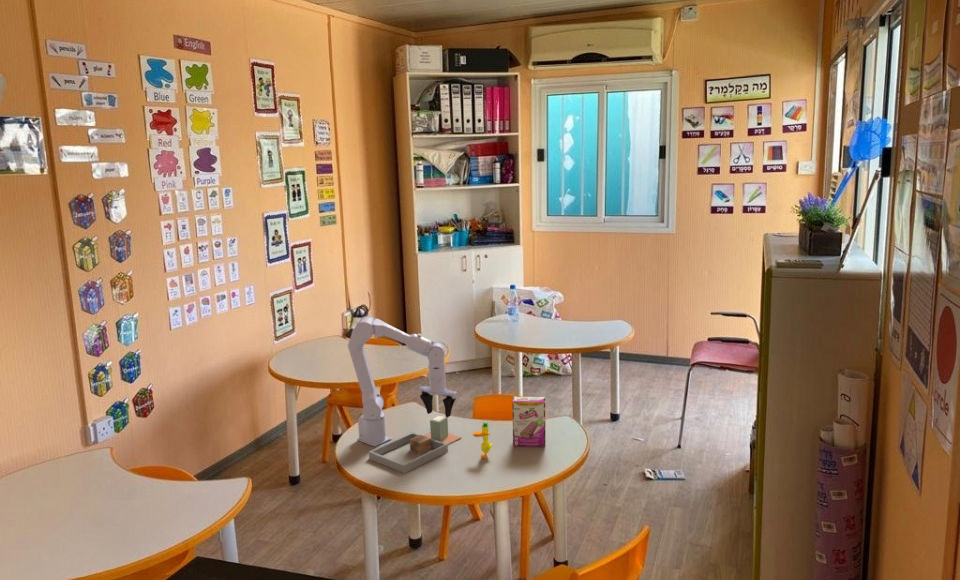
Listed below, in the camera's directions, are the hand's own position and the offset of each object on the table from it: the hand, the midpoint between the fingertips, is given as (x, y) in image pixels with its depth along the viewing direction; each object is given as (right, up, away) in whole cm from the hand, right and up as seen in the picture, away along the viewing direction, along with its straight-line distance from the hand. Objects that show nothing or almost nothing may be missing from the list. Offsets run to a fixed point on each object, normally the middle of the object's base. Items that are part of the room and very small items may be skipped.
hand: (438, 414), depth 242 cm
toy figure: (+16, -12, -14) cm, 24 cm away
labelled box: (0, -8, +1) cm, 8 cm away
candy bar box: (+31, -9, -5) cm, 33 cm away
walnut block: (-6, -11, -7) cm, 14 cm away
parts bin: (-9, -12, -11) cm, 18 cm away
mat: (0, -9, +2) cm, 9 cm away
